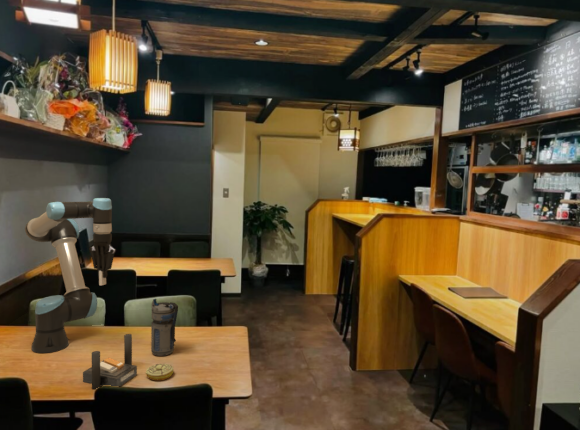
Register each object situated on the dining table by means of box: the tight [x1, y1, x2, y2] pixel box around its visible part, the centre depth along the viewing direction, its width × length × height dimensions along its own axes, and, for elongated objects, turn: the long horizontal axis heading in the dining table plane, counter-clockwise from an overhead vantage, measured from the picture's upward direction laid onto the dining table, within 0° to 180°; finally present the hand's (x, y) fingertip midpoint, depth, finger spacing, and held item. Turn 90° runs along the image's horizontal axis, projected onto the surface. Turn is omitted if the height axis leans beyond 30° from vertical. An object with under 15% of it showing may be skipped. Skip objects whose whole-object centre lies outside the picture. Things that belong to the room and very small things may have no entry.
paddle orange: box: [103, 357, 124, 369], centre depth 170 cm, size 8×3×1 cm, turn 74°
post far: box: [123, 333, 133, 365], centre depth 179 cm, size 3×3×14 cm
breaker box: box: [82, 359, 138, 387], centre depth 168 cm, size 16×12×5 cm
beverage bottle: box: [150, 298, 179, 357], centre depth 194 cm, size 10×13×25 cm
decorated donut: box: [145, 363, 174, 381], centre depth 172 cm, size 10×11×4 cm
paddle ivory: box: [100, 361, 117, 373], centre depth 166 cm, size 8×3×1 cm, turn 74°
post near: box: [91, 350, 101, 390], centre depth 160 cm, size 3×3×14 cm
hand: (102, 284), depth 189 cm, fingers closed
